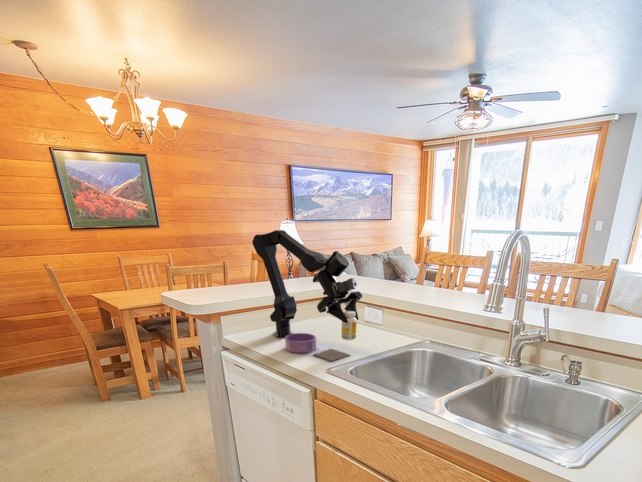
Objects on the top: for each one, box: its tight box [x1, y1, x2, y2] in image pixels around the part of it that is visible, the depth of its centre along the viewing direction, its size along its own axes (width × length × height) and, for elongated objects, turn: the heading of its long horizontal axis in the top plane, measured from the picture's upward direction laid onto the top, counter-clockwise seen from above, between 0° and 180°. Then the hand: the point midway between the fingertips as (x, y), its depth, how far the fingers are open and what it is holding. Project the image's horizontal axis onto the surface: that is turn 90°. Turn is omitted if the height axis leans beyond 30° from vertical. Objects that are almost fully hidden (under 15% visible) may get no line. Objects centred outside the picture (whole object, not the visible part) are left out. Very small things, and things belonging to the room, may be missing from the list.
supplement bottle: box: [341, 310, 358, 341], centre depth 147 cm, size 5×5×10 cm
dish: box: [284, 332, 317, 354], centre depth 151 cm, size 11×11×4 cm
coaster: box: [313, 349, 350, 362], centre depth 146 cm, size 9×9×1 cm
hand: (352, 321), depth 145 cm, fingers closed on supplement bottle, 5 cm apart
